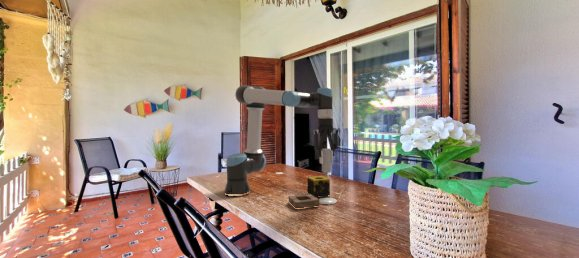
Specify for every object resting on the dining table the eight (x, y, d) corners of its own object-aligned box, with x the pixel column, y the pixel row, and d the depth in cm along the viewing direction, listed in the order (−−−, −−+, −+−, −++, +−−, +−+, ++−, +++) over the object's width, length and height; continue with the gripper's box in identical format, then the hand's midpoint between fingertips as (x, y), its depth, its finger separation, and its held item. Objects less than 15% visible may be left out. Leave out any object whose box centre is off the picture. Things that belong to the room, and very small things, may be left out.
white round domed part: (314, 200, 143) (314, 199, 143) (331, 198, 146) (331, 197, 146) (322, 206, 134) (322, 204, 134) (340, 203, 137) (340, 202, 137)
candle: (306, 194, 157) (306, 176, 156) (322, 192, 160) (322, 175, 159) (313, 198, 147) (313, 180, 147) (330, 196, 150) (330, 178, 150)
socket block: (288, 202, 140) (288, 196, 140) (310, 200, 144) (310, 193, 143) (296, 210, 129) (296, 202, 128) (319, 207, 132) (319, 199, 132)
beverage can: (325, 171, 143) (324, 148, 142) (333, 171, 140) (332, 148, 139) (320, 172, 139) (319, 149, 139) (328, 173, 136) (327, 149, 136)
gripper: (311, 118, 132) (313, 165, 133) (344, 117, 138) (345, 162, 138) (306, 118, 140) (307, 163, 140) (337, 117, 145) (338, 161, 146)
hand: (326, 163), depth 139 cm, fingers closed on beverage can, 5 cm apart
